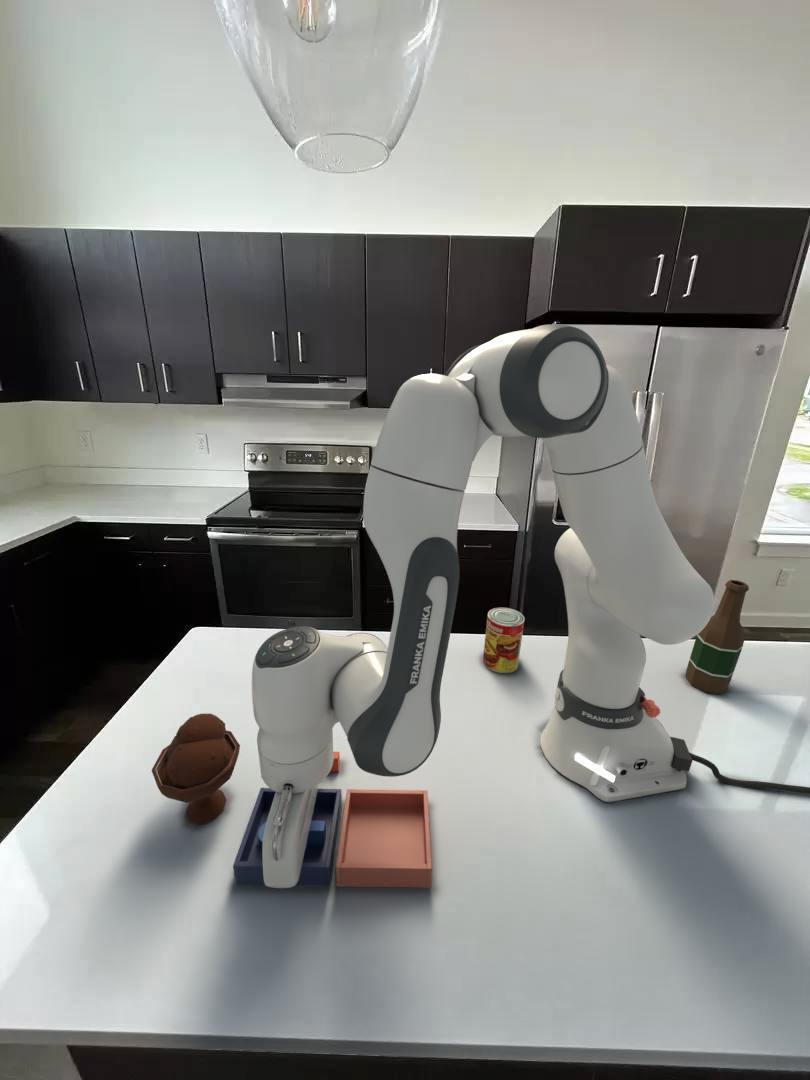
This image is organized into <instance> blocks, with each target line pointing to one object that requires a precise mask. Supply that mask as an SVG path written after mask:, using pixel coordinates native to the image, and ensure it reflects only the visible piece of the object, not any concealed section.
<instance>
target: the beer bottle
mask: <svg viewBox="0 0 810 1080" xmlns="http://www.w3.org/2000/svg"><path fill="white" fill-rule="evenodd" d="M724 586H725V589H724V592H723V594H722V596H721V600H720V602H719V604H718V607H717V609H716V610H715V612H714V614H713V615H712V616H711V618H710V620H709V622H708V624H707V625H706V626H705V628H704V629H703V630H702V631H701V632H700V633H699V634H697V635H696V636H695V639H694V644H693V646H692V650H691V653H690V656H689V659H688V663H687V667H686V671H685V675H684V677H685V678H686V680H687V681H688V683H689V684H690V686H692V687H694V688H696V689H697V690H699V691H701V692H703V693H706V694H712V695H713V694H714V695H719V696H720V695H722V694H724V692H725V691H726V690H727V689H728V688H729V686H730V684H731V681H732V678H733V676H734V672H735V669H736V667H737V664H738V661H739V659H740V656H741V653H742V650H743V647H744V644H745V639H746V636H745V630H744V628H743V626H742V624H741V613H742V610H743V605H744V601H745V599H746V598H745V597H746V593H747V592H748V591H749V590H750V587H749V585H748V584H747V583H745V582H743V581H742V580H736V579H729V580H727V581H726V583H725V584H724Z"/></svg>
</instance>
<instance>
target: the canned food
mask: <svg viewBox="0 0 810 1080" xmlns="http://www.w3.org/2000/svg"><path fill="white" fill-rule="evenodd" d="M525 619H526V618H525V616H524V615H523V614H522V613H521V612H520V611H518V610H516V609H513V608H510V607H501V606H500V607H494V608H492V609H490V610H489V611H488V612H487V616H486V627H485V637H484V645H483V656H482V662H483V664H484V666H485V667H486V668H487V669H489V670H490V671H493V672H495V673H499V674H510V673H513V672H515V671H516V670H517V669H518V668H519V661H520V655H521V647H522V640H523V632H524V626H525Z"/></svg>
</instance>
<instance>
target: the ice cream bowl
mask: <svg viewBox="0 0 810 1080" xmlns="http://www.w3.org/2000/svg"><path fill="white" fill-rule="evenodd" d="M240 748H241V745H240V743H239V742H238V740H237V738H236V736H235V735H234V733H233V732H232V731H231V730H227V729H226V723H225V722H224V721H223V720H222V719H220V718H219V717H218V716H217V715H215V714H213V713H198V714H195V715H194V716H190V717H189V718H188V719H187V720H186V721H185V722H184V723H183V724H182V725H180V726H179V728H178V729H177V732H176V735H174V737H173V738H172V740H171V742H170V743H169V744H168V745H167V746H166V747H164V748H162V750H161V752H160V754H159V756H158V758H157V759H156V761H155V763H154V764H153V766H152V768H151V773H152V776H153V778H154V781H155V784H156V786H157V787H156V788H157V789H158V790H159V792H160V794H161V795H162V796H164V797H166V798H167V799H170V800H175V801H179V802H183V803H188V804H187V806H186V809H185V816H186V820H187V821H188V823H190V824H195V825H198V826H199V825H200V826H201V825H203V824H207V823H210V822H212V821H214V820H215V819H216V818H218V816H220V815H221V813H223V812H224V810H225V807H226V804H227V797H226V795H225V794H224V792H223V790H222V789H220V788H222V787H223V786H224V785H225V784H226V783H228V781H229V780H231V777H232V776H233V773H234V770H235V767H236V764H237V761H238V759H239V755H240Z"/></svg>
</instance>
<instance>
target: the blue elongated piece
mask: <svg viewBox="0 0 810 1080" xmlns="http://www.w3.org/2000/svg"><path fill="white" fill-rule="evenodd" d="M265 825H266V822H265V823H264V824H263V825H262V826H261V827H260V829H259V832H258V839H259V845H260V847H261V848H262V845H263V835H264V830H265ZM325 839H326V824H325V821H311V824H310V829H309V833H308V840H307V845H324V844H325Z"/></svg>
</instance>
